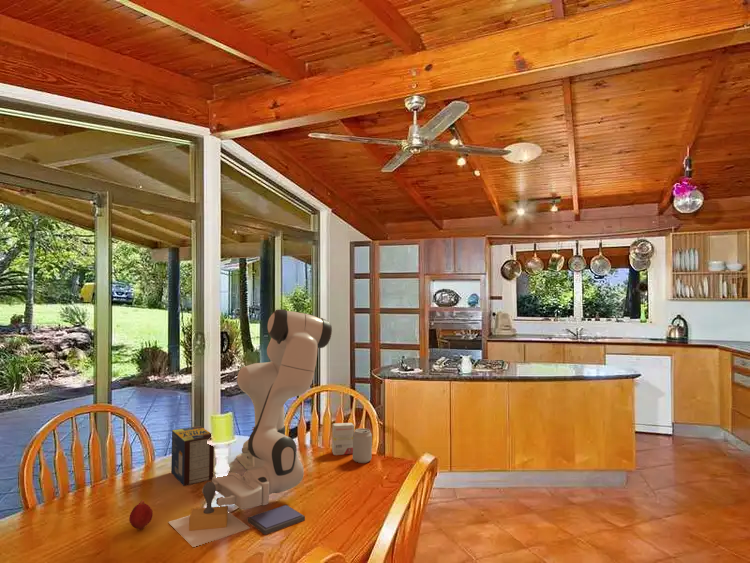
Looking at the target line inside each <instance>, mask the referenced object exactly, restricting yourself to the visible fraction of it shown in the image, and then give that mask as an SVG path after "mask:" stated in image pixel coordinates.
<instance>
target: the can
mask: <svg viewBox="0 0 750 563" xmlns="http://www.w3.org/2000/svg"><path fill="white" fill-rule="evenodd" d="M372 436H373V433H371V430H370V429H368V428H363V427H362V428H356V429H354V433H353V454H352V459H353V461H354V462H355V463H357V462H358V463H359V464H367V463H369V462H370V461H371V460H372V451H373V450H372V446H373V444H372V442H373V437H372Z"/></svg>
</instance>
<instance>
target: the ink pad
mask: <svg viewBox="0 0 750 563" xmlns="http://www.w3.org/2000/svg"><path fill="white" fill-rule="evenodd" d="M305 520H306V515H304V514H302V513H300V512H299V511H298V510H296V509H294V508H293V507H290V506H289V505H288V504H284V505H281V506H278V507H275V508H272V509H269V510H267V511H263V512H260V513H257V514H253V515H251V516H248V517H247V523H249V524H250V525H251V526H252V527H254V528H256V529H257V530H258V531H259V532H261V533H262V534H263V535H264V536H265V535H268V534H269V535H270V534H271V533H274V532H277V531H280V530H283V529H285V528H288V527H290V526H293V525H296V524H299V523H301V522H304V521H305Z"/></svg>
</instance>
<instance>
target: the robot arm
mask: <svg viewBox="0 0 750 563" xmlns="http://www.w3.org/2000/svg"><path fill="white" fill-rule="evenodd" d="M332 332H333V329H332V324H331V322H330V321H329V320H327V319H326V318H323V317H317V316H315V315H312V314H309V313H306V312H305V313H304V312H299V311H292V310H291V311H290V310H287V309H281V308H279V309H276V310H274V311H273V312H272V313H271V315H270V316H269V318H268V321H267V334H268V335H269V337H270V341H269V343H268V345H267V348H266V355H267V357H268V359H269V360H270V361H268V362H266V361H265V362H256V363H255V362H254V363H251V364H248V365H245V366H243V367H241V368H240V369H239V371H238V372H237V373H238V374H237V377H236V380H237V381H236V382H237V386H238V388H239V389H240V390H241V391H242V392H244V394H246V395H247V396H248V397H249V398H250V400H251V403H252V404H253V411H254V426H252V427H251V430H252V431H251V433H250V435H249V438H248V439H247V440H246V441H244V443H243V445H242V448H241V453H239V454H237V455H236V456H235V459H236V460H237V461H238V462H239V463H240V464H241V466H242V467H243V468H244V469H245V470H246V471H244V472H243V475H242V474H239V473H238V472H227V473H228V475H227V476H223V477H217V478H216V475H213V478H212V480H211V482H213V483H214V484H215V487H216V491H215V492H217V493H218V494H219V495H221V496H219V497H217V498H216V500H215V502H216V503H215V504H216V506H217V507H219V506H230V505H231V506H233V505H235V506H236V507H237V508H238V509H240V510H249V509H253V508H257V507H260V506H265V505H268V504H269V503H270V495H272V494H279V493H282V492H285V491H288V490H291V489H293V488H295V487H296V486H298V485H299V484H300V483H301V482H302V480H303V479H304V474H305V472H304V466H303V463H302V462H301V460H300V459H299V457H298V454H297V445H296V442H295V440H294V439H293V438H291V437H290V436H288V435H286V426H285V407H284V405H285V404H286V402H287V401H289V399H292V398H295V397H299V396H301V395H303V394H305V393H306V392H307V391H308V390H309V389H310V387H311V385H312V383H313V380H314V375H315V371H316V366H317V358H318V349H323V348H325V347H327V345H329V343H330V340H331V337H332ZM201 492H202V494H203V488H202V489H201Z"/></svg>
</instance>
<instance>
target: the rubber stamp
mask: <svg viewBox="0 0 750 563" xmlns="http://www.w3.org/2000/svg"><path fill="white" fill-rule="evenodd" d="M202 489H203V493H202V494H203V497H204V499H205V503H206V507H198V508H196V507H195V508H191V511H190V514H189V515H190V517H189V530H190V531H191V530H201V529H212V528H223V527H227V520H228V511H229V505H222V506H220V507H219V506H212V503H213V499H214V498H215V494H216V492H217V491H216V487H215V484H214V483H213V482H212V481H206V483H205V484H204V485H203V487H202Z"/></svg>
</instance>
